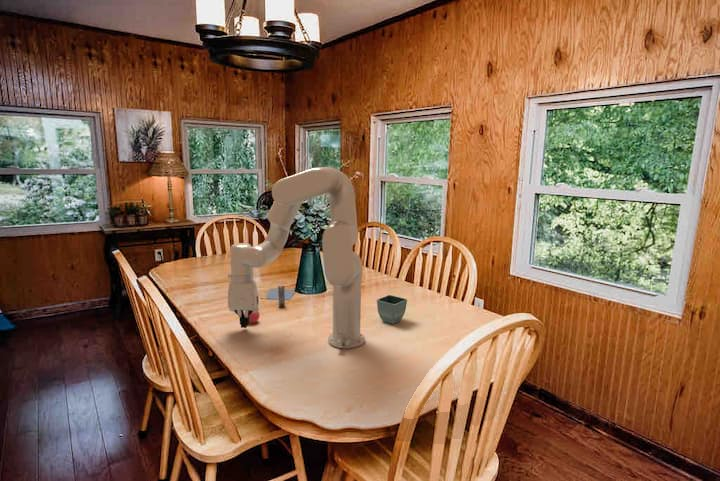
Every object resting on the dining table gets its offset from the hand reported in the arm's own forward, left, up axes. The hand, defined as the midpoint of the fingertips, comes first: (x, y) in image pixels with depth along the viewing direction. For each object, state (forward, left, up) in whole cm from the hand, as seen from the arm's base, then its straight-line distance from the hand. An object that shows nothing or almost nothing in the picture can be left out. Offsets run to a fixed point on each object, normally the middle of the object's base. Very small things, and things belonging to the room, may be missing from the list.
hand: (244, 326), depth 150 cm
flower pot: (+16, -53, -2) cm, 55 cm away
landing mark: (+42, 0, -2) cm, 42 cm away
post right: (+26, -6, -2) cm, 26 cm away
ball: (+8, 0, +1) cm, 8 cm away
